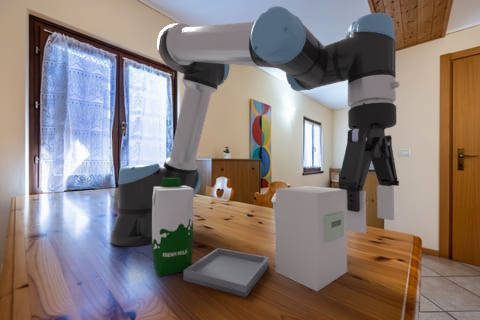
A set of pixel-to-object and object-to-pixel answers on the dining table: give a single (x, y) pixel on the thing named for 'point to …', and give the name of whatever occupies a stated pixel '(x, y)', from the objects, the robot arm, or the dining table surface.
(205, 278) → the tray
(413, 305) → the dining table surface
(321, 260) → the box
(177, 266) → the milk carton
